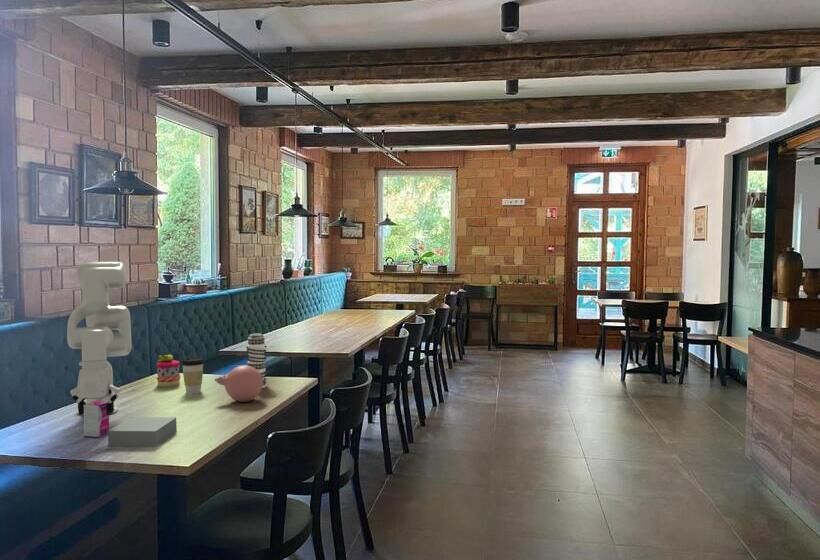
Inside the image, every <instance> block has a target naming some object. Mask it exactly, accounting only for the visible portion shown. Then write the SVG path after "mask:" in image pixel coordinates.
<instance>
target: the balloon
mask: <svg viewBox="0 0 820 560" xmlns="http://www.w3.org/2000/svg"><path fill="white" fill-rule="evenodd" d="M248 365H249V364H248ZM248 365H247V364H246V365H239V366H236V367H234V368H233V369H231V370H230V372H228V373H227V374H224V375H223V376H218V377H216V378H215V379H214V382H216V383H217V384H219V385H220V386H224V388H225V391H226V393H227V394H228V396H229V397H230V398H231V399H232V400H234V401H236V402H240V403H245V402H251V401H252V400H254V399H256V398H257V397H258V396H259V394H260V393H261V392H262V389H263V388H262V385H263V380H262V376H261V374H260V373H259V371H258V370H257V369H255V368H254V367H251V366H248Z"/></svg>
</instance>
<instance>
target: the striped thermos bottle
mask: <svg viewBox="0 0 820 560" xmlns="http://www.w3.org/2000/svg"><path fill="white" fill-rule="evenodd" d="M265 338H266V336H265V335H263V334H262V333H251V334H249V336H248V337H247V346H246V353H247V354H246V360H247V364H248V366H251V367H254V368H255V369H257V370H258V371H259V373H260V374H261V376H262V380H263V385H262V389H264V388H266V387H267V378H266V377H267V371H266V362H267V361H266V359H267V357H265V356H267V349H266V348H267V345H266V343H265Z"/></svg>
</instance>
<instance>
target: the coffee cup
mask: <svg viewBox="0 0 820 560" xmlns="http://www.w3.org/2000/svg"><path fill="white" fill-rule="evenodd" d="M204 364H205V361H204V358H201V357H191V358H184V359H182V362H181V363H180V366H181V365H182V366H181V367H182V375H183V382H184V387H185V393H186V394H187V395H188V394H189V395H194V394H199V393H201V390H202V383H203V374H204V369H203V368H204Z"/></svg>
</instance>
